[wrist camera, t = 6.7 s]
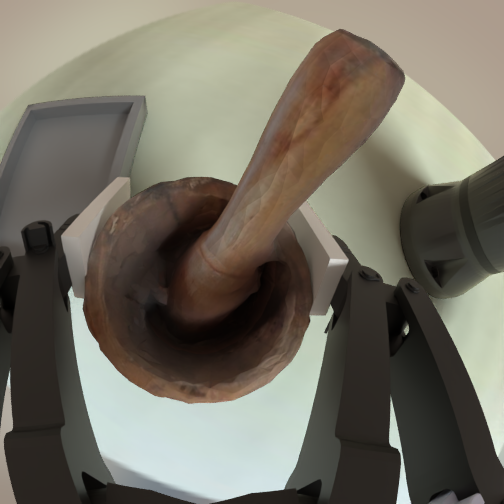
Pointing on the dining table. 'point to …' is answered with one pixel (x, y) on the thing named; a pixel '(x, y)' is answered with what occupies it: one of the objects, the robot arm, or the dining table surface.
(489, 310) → the dining table surface
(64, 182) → the tray
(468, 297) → the dining table surface
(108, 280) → the mortar and pestle
